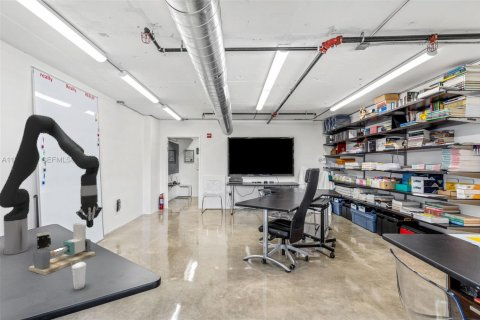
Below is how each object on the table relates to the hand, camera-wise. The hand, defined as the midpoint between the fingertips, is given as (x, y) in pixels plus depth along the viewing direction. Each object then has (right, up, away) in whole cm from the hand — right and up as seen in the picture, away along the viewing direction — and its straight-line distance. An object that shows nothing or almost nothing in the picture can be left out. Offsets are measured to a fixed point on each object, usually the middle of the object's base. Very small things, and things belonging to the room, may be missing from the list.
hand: (89, 227), depth 122 cm
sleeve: (-3, -10, -6) cm, 12 cm away
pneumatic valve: (-22, -14, -2) cm, 26 cm away
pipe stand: (-5, -13, -11) cm, 18 cm away
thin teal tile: (-4, -10, -10) cm, 15 cm away
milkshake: (+17, -13, -34) cm, 40 cm away
